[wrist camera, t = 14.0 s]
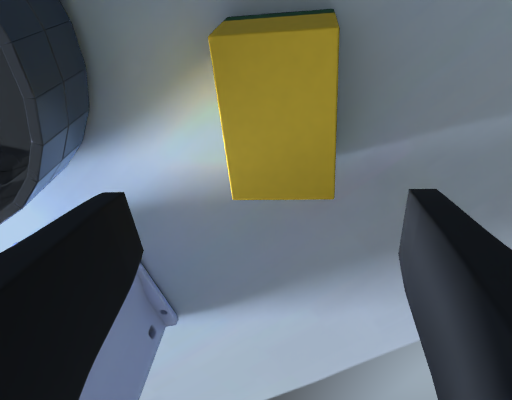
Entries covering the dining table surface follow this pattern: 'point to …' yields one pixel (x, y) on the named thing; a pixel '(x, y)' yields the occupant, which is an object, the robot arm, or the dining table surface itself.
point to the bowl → (38, 98)
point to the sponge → (278, 103)
